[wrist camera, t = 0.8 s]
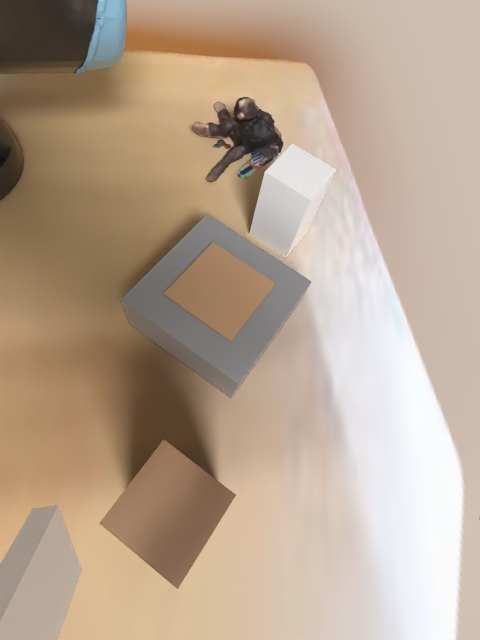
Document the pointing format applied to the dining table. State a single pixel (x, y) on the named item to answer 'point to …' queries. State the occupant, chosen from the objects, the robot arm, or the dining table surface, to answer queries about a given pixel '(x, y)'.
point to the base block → (215, 303)
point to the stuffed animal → (243, 137)
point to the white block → (289, 199)
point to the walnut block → (168, 512)
